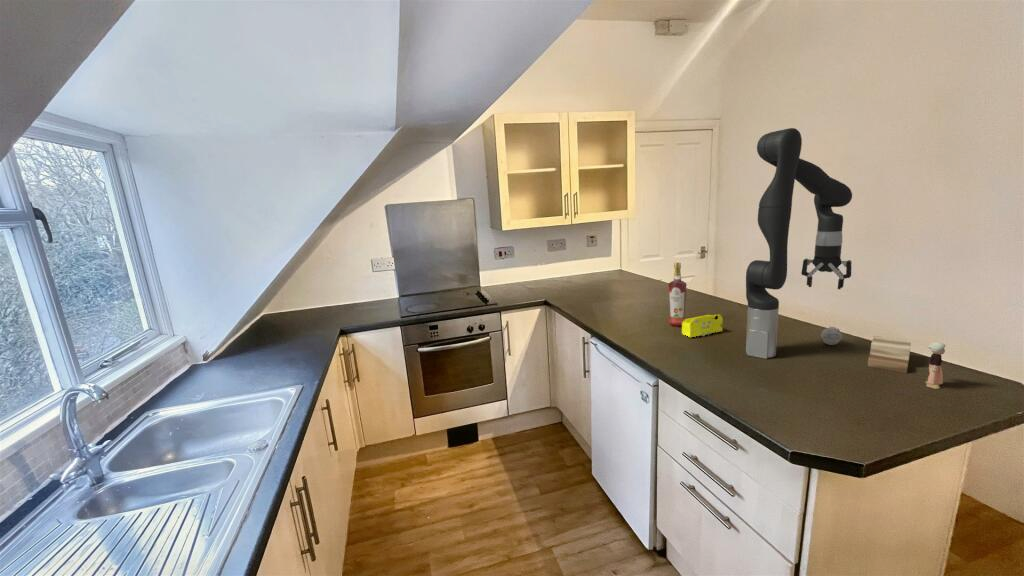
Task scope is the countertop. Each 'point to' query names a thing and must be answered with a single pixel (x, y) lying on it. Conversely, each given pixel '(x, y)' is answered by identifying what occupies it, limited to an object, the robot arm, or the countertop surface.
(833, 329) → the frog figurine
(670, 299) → the liquor
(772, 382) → the countertop surface
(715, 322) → the yellow toy chassis
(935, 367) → the grandmother figurine
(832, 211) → the robot arm
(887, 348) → the plinth
